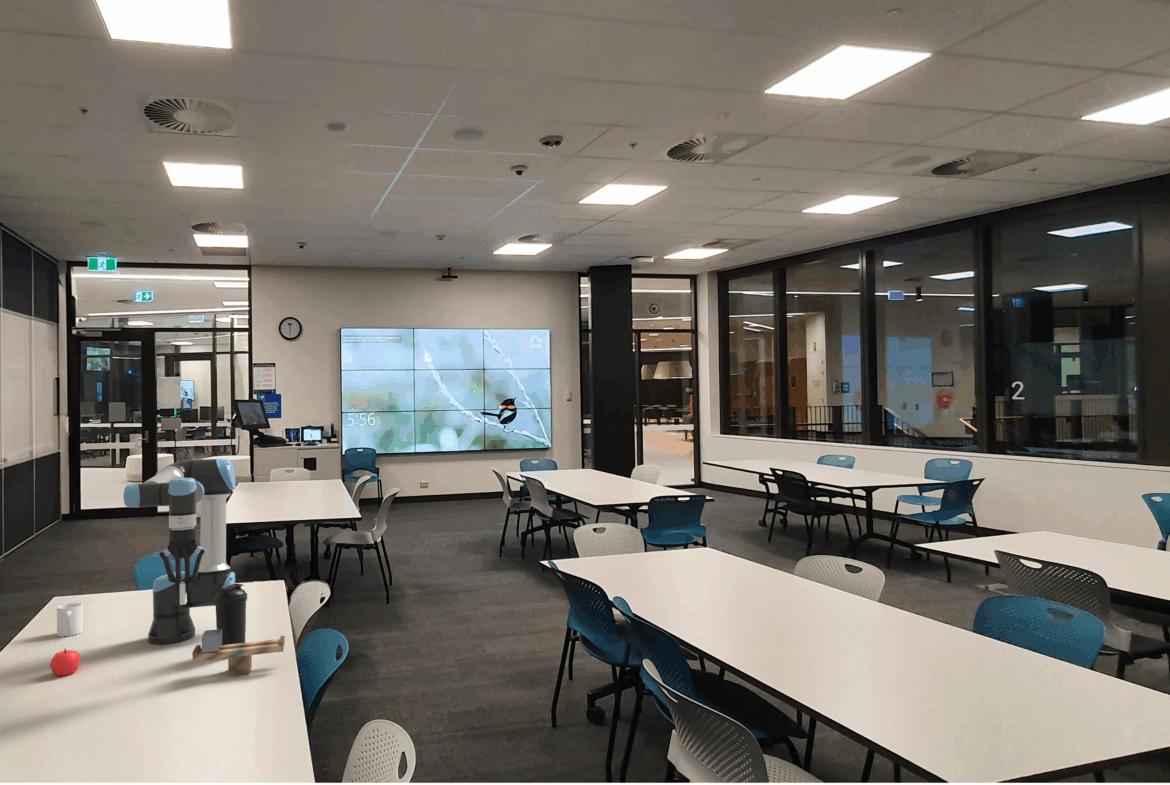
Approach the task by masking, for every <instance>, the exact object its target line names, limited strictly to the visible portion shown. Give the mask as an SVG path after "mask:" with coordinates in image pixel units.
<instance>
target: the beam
mask: <svg viewBox="0 0 1170 785" xmlns="http://www.w3.org/2000/svg"><path fill="white" fill-rule="evenodd" d="M285 638H286V637H285V635H280V638H278V639H277V638H276V639H267V640H259V641H250V642H247V641H245V643H237V644H229V645H222V647H221V649H220V651H215V652H205V653H202V643H201V644H196V645H195V647H194V649H192V662H193V663H194V662H201V661H202V662H203V661H208V660H209V661H211V660H220V659H228V663H227V665H228V666H227V667H228V668H227V669H228V670H227V671H228V677H229V678H230V677H238V676H247V675H250V673H251V671H252V667H253V666H252V665H253V664H252V663H253V662H252V661H253V659H252V656H255V655H263V654H264V655H265V654H272V653H282V652H284V649H285V648H284V647H285V644H286V643H285V642H286V640H285Z"/></svg>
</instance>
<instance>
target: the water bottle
mask: <svg viewBox="0 0 1170 785" xmlns="http://www.w3.org/2000/svg"><path fill="white" fill-rule="evenodd" d="M244 586H245V585H244V584H243V583H242V584H241V583H235V584H231V585H230V586H228V587H226V588H218V590H217V594H216V596H215V598H214V603H215V605H216V606H215V620H216V621H215V622H216V623H215V624H216V630H217V629H222V645H229V644H237V643H246V632H247V631H246V628H247V627H246V625H247V601H248V593H247V592H246V591H245V590H244V588H242V587H244Z"/></svg>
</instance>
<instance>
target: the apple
mask: <svg viewBox="0 0 1170 785" xmlns="http://www.w3.org/2000/svg"><path fill="white" fill-rule="evenodd" d="M80 661H81V656H80V653H79V652H77V650H74V649H69V650H67V648H64V650H61V651H58V652H56V653H55V654H54V655H53V657H52V658H51V659H50V669H51V673H52V674H53V675H54V676H58V677H65V676H70V675H73V674H74V673H75V672H76V671H77V670H78V669H79V666H80Z"/></svg>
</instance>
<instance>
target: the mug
mask: <svg viewBox="0 0 1170 785" xmlns="http://www.w3.org/2000/svg"><path fill="white" fill-rule="evenodd" d="M83 612H84V611H83V603H81V602H71V603H65V604H62V605H58V606H57V607H56V635H57V637H59V636H60V638H64V636H69V637H73V636H72V635H74V636H77V635H76V634H78V635H80V634H82V633H83V624H84V621H83V619H84V618H83ZM81 632H82V633H81ZM79 633H80V634H79Z"/></svg>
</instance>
